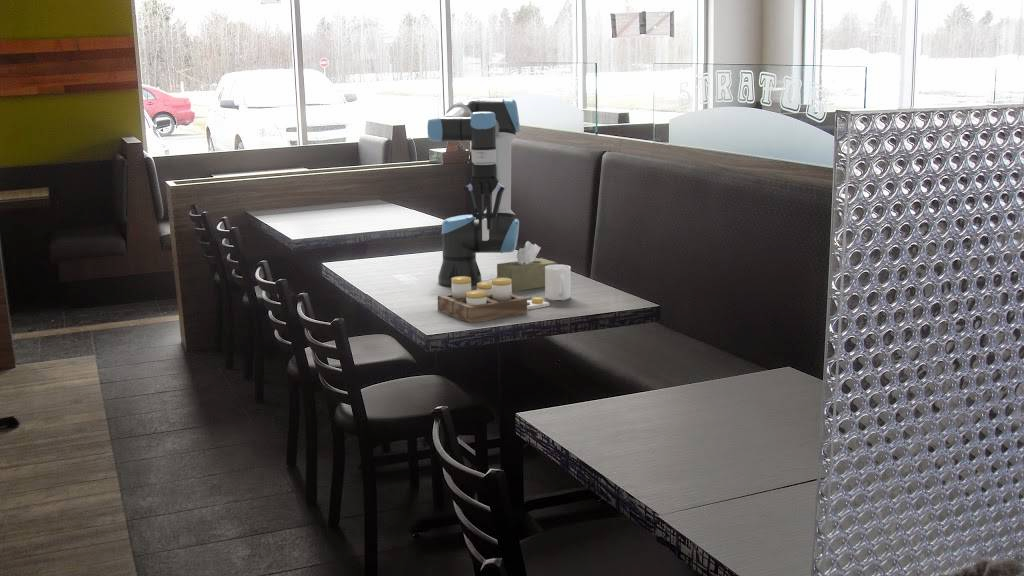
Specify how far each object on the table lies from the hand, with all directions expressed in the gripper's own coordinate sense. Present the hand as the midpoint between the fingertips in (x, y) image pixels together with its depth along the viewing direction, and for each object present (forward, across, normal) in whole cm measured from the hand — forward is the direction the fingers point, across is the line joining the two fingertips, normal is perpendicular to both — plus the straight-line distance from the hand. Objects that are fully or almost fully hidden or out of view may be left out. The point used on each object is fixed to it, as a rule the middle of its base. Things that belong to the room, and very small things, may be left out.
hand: (485, 239), depth 304 cm
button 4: (+17, +6, -7) cm, 19 cm away
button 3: (+20, 0, 0) cm, 20 cm away
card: (+21, +11, +4) cm, 25 cm away
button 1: (+17, -6, -7) cm, 19 cm away
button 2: (+20, 0, -13) cm, 24 cm away
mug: (+22, +21, +14) cm, 33 cm away
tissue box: (+22, +6, +32) cm, 40 cm away
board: (+21, 0, -7) cm, 22 cm away
